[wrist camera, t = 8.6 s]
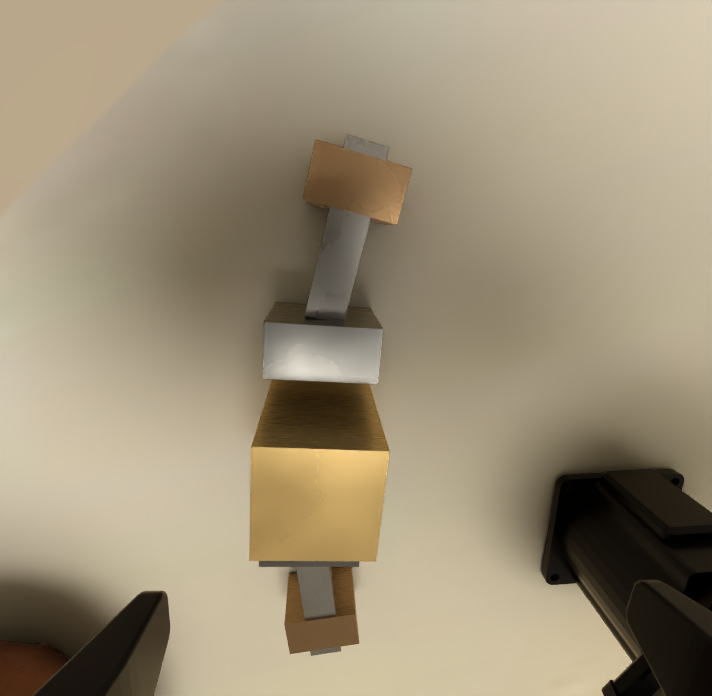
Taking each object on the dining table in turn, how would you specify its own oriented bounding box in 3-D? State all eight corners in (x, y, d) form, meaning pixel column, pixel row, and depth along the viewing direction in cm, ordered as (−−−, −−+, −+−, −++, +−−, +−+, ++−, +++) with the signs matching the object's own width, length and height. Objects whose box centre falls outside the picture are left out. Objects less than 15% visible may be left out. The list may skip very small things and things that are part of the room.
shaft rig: (279, 142, 15) (267, 118, 12) (398, 154, 16) (421, 135, 12) (267, 604, 22) (256, 677, 18) (353, 603, 22) (359, 674, 19)
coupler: (366, 374, 18) (389, 451, 12) (358, 453, 19) (375, 561, 13) (275, 369, 18) (251, 446, 12) (272, 451, 19) (249, 560, 13)
